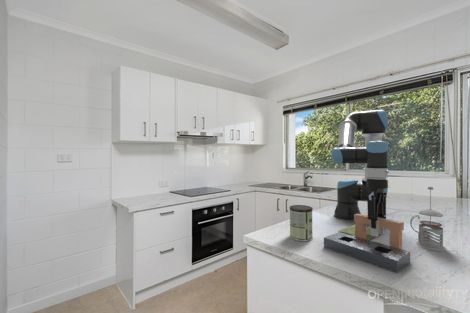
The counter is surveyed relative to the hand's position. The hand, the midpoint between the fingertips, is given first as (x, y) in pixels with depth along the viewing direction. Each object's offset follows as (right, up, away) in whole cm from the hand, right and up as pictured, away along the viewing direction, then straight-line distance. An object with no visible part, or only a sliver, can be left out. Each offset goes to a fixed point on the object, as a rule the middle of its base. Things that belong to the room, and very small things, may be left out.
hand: (377, 234), depth 94 cm
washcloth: (+1, -6, +16) cm, 17 cm away
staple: (0, -5, 0) cm, 5 cm away
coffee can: (-28, -5, +11) cm, 31 cm away
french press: (+22, -5, +2) cm, 23 cm away
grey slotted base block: (-10, -5, -7) cm, 13 cm away
